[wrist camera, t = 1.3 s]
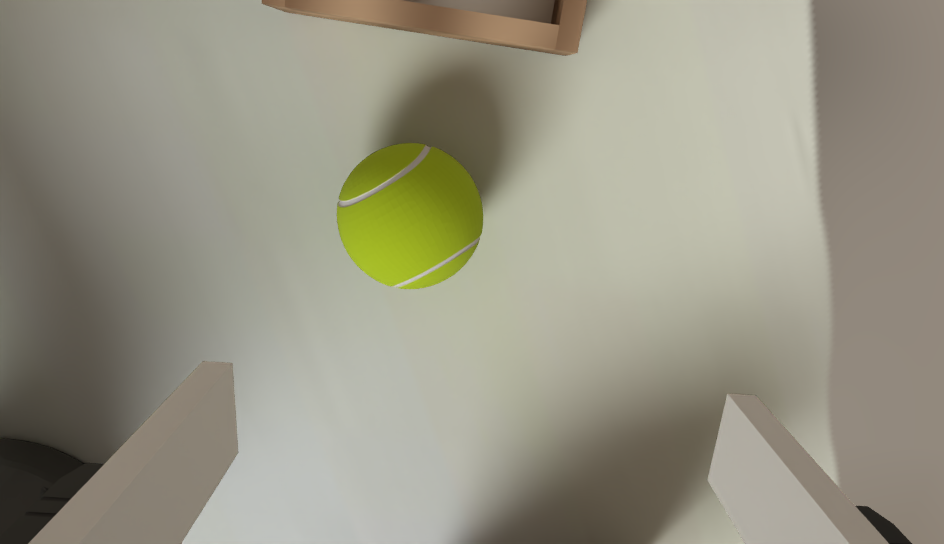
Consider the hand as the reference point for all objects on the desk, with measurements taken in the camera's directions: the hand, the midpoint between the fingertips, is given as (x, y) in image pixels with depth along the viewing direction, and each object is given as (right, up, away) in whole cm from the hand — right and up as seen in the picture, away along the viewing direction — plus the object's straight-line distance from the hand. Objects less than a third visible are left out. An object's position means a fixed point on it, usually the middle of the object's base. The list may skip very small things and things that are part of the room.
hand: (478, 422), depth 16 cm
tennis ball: (-3, +8, +16) cm, 18 cm away
